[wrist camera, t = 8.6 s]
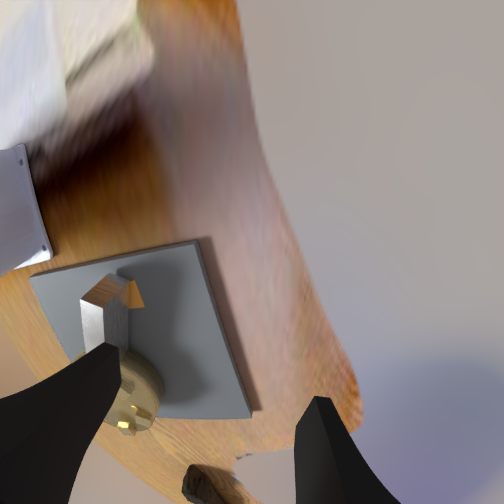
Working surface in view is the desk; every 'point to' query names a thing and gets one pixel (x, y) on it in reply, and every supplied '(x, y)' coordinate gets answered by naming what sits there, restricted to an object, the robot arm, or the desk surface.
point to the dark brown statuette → (199, 488)
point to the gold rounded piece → (121, 355)
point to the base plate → (158, 326)
